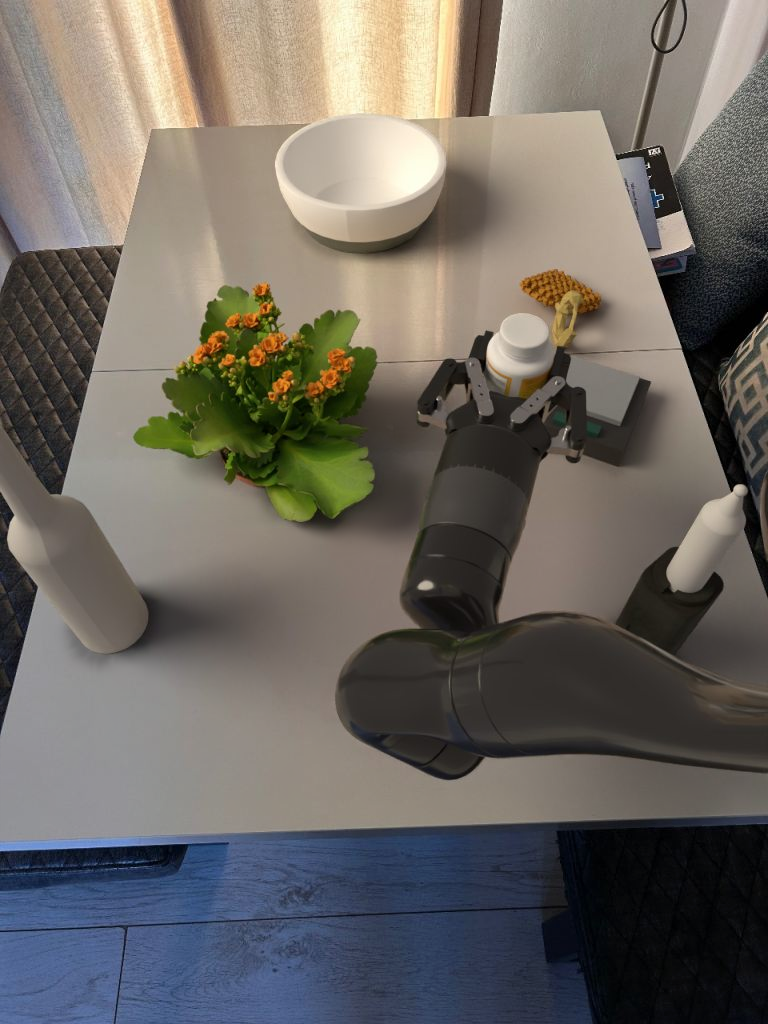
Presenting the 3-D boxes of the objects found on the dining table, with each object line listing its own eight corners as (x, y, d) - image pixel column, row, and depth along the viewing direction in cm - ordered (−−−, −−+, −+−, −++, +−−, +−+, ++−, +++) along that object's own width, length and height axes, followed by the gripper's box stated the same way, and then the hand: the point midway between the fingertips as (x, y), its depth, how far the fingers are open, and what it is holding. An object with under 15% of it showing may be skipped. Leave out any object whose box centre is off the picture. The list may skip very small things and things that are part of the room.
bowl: (451, 174, 112) (455, 118, 105) (434, 273, 99) (437, 216, 92) (300, 163, 114) (294, 107, 107) (266, 259, 101) (256, 202, 95)
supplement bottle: (544, 396, 71) (565, 313, 62) (532, 442, 68) (553, 361, 59) (485, 384, 72) (498, 299, 63) (471, 428, 69) (483, 346, 60)
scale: (645, 397, 87) (653, 376, 84) (617, 466, 81) (625, 446, 78) (552, 367, 90) (557, 346, 87) (520, 432, 84) (524, 412, 81)
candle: (599, 645, 70) (685, 483, 49) (635, 612, 72) (733, 443, 51) (643, 686, 68) (753, 534, 47) (679, 651, 69) (800, 490, 49)
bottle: (76, 599, 73) (-73, 400, 50) (145, 583, 74) (31, 379, 51) (79, 661, 70) (-80, 477, 46) (152, 643, 70) (32, 454, 47)
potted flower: (127, 540, 77) (66, 426, 62) (167, 370, 90) (124, 243, 76) (376, 540, 76) (372, 425, 62) (379, 369, 90) (376, 242, 75)
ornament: (525, 239, 95) (538, 297, 84) (604, 258, 96) (627, 318, 85) (507, 288, 100) (518, 349, 89) (583, 305, 101) (602, 368, 90)
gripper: (584, 496, 53) (618, 330, 62) (386, 448, 55) (445, 295, 64) (563, 550, 59) (597, 392, 68) (386, 505, 62) (441, 358, 70)
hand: (523, 346), depth 66 cm, fingers closed on supplement bottle, 5 cm apart
